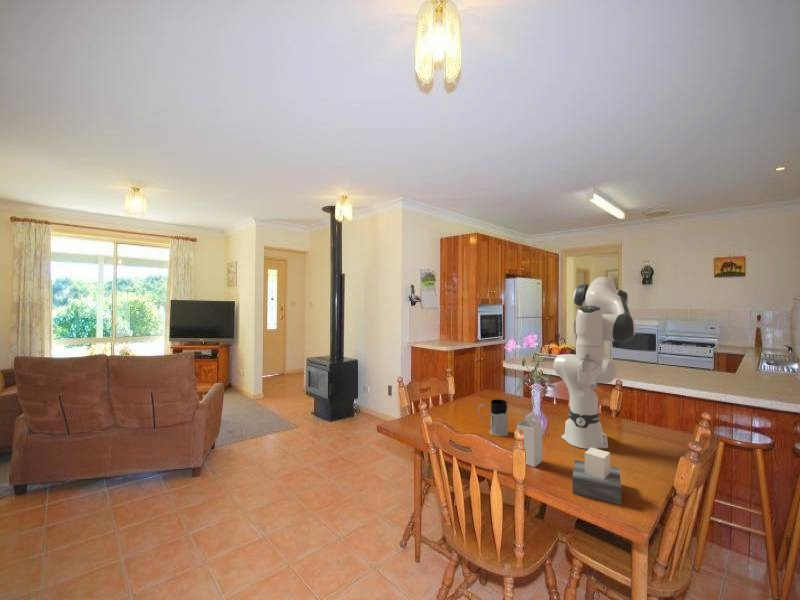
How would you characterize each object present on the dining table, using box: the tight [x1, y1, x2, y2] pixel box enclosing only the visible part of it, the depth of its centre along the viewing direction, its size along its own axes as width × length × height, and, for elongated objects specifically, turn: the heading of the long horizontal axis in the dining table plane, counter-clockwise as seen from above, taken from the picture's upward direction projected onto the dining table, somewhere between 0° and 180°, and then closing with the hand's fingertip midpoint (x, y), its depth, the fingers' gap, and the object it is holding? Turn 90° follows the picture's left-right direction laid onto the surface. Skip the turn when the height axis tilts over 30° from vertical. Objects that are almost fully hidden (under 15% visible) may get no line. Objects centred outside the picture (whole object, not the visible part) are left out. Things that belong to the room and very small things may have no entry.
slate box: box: [571, 459, 622, 506], centre depth 124 cm, size 14×14×6 cm
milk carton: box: [516, 411, 543, 468], centre depth 144 cm, size 7×7×19 cm
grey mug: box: [478, 399, 509, 437], centre depth 174 cm, size 9×14×15 cm, turn 90°
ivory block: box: [584, 447, 611, 479], centre depth 123 cm, size 6×6×7 cm
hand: (590, 392), depth 126 cm, fingers open, 8 cm apart
